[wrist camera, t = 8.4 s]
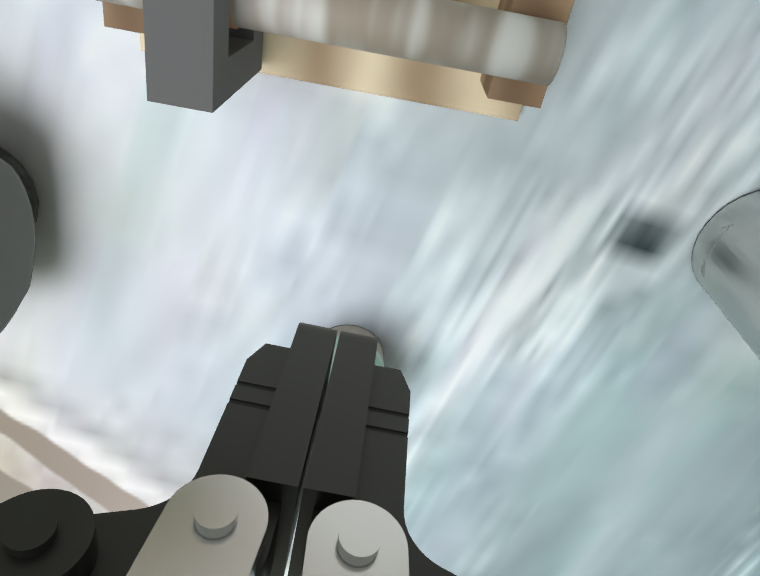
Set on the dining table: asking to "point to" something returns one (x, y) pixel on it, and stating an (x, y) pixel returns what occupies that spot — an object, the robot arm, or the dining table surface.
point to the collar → (196, 53)
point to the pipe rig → (404, 46)
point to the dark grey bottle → (15, 235)
